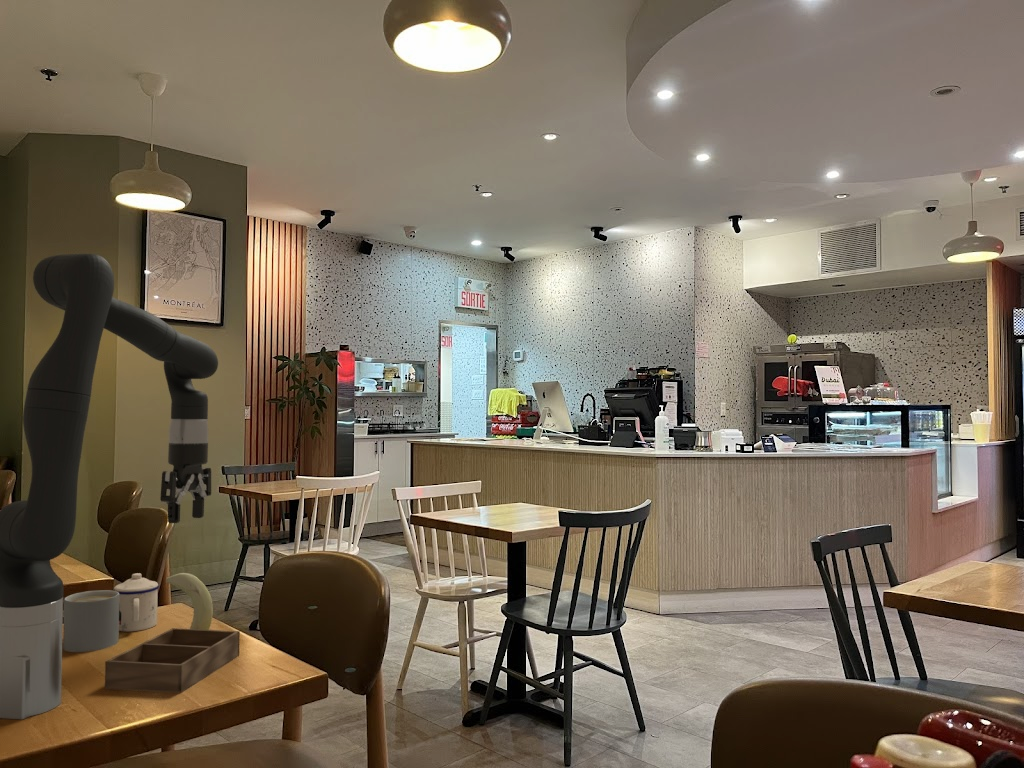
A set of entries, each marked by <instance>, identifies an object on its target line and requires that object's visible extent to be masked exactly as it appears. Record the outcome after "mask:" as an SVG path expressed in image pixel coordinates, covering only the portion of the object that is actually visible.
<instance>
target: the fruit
mask: <svg viewBox="0 0 1024 768" xmlns="http://www.w3.org/2000/svg"><path fill="white" fill-rule="evenodd" d="M165 583H166V584H170V585H173V586H174V587H176V588H178V589H179V590H181V591H183V592H184V593H185V594H186V595H187V596H188V597H189V598H190V600H191V602H192V606H193V617H192V622H191V625H190V627H189V629H198V630H210V627H211V625H212V621H213V611H214V609H213V608H214V605H213V599H212V596H211V593H210V591H209V590H208V589H209V588H208V587H207V586H206V585H205V584H204V582H203V581H201V580H200V579H199V578H198V577H197V576H195V575H194V574H192V573H187V572H180V573H176V574H173V575H171V576H168V577H166V578H165Z"/></svg>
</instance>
